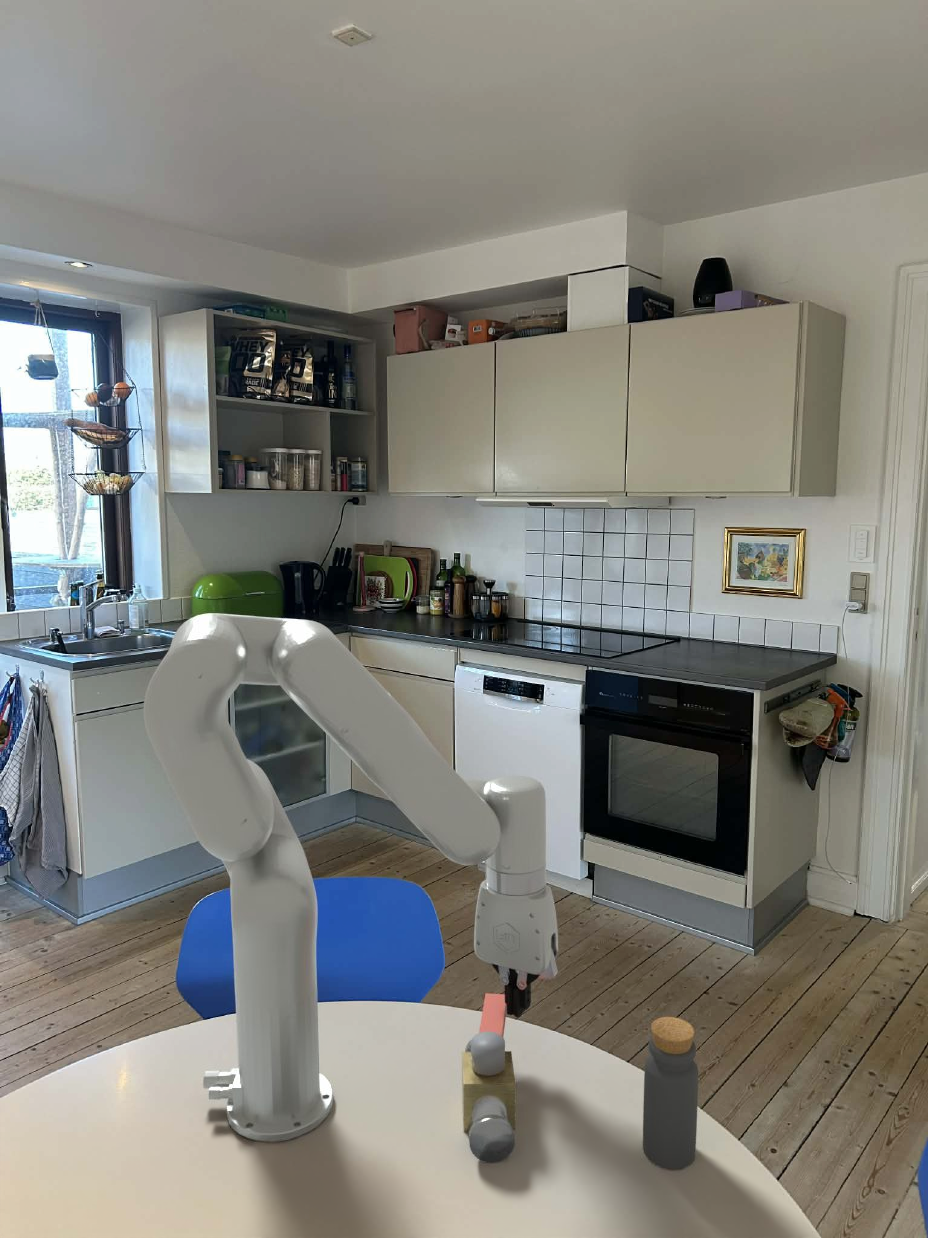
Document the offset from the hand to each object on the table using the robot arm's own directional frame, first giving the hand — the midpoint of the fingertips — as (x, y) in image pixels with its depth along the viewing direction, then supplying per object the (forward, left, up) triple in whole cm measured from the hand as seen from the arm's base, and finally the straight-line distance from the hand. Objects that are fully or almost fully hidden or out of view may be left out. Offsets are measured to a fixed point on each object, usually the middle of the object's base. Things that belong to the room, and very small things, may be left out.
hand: (517, 1010), depth 117 cm
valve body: (-4, -9, -7) cm, 13 cm away
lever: (-4, -4, -1) cm, 6 cm away
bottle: (+16, -16, -8) cm, 24 cm away
